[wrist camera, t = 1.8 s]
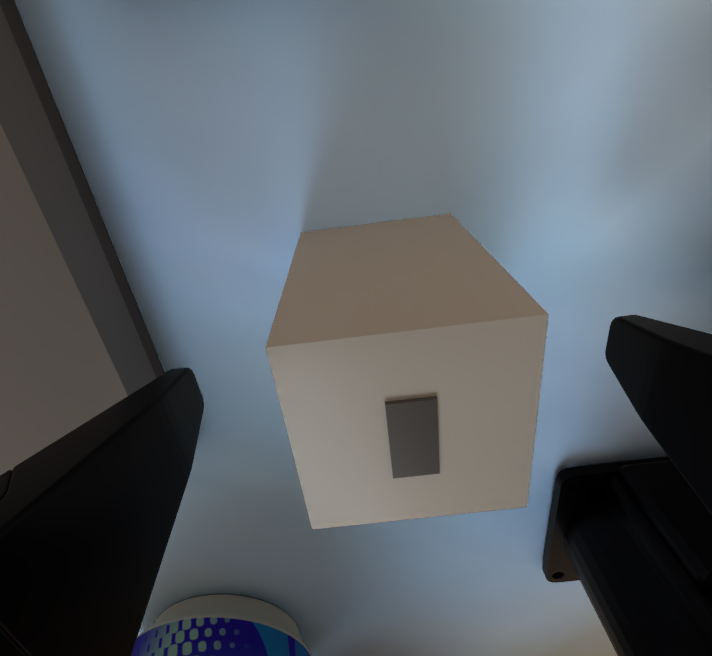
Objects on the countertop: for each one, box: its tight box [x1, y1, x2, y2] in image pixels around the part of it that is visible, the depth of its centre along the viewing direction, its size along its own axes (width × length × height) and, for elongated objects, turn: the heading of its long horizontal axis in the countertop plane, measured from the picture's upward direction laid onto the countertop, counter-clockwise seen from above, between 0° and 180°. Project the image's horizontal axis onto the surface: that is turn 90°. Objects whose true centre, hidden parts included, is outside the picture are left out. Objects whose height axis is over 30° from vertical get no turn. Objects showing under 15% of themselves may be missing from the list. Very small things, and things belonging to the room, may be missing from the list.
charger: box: [266, 213, 549, 530], centre depth 9 cm, size 4×4×6 cm
